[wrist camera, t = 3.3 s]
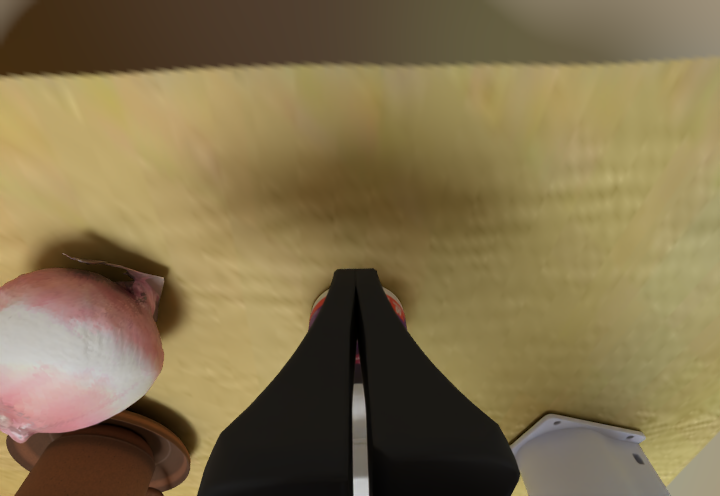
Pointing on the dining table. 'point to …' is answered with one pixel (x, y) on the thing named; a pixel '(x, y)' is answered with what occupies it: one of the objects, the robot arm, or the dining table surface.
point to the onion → (75, 348)
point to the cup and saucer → (103, 459)
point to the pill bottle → (360, 405)
